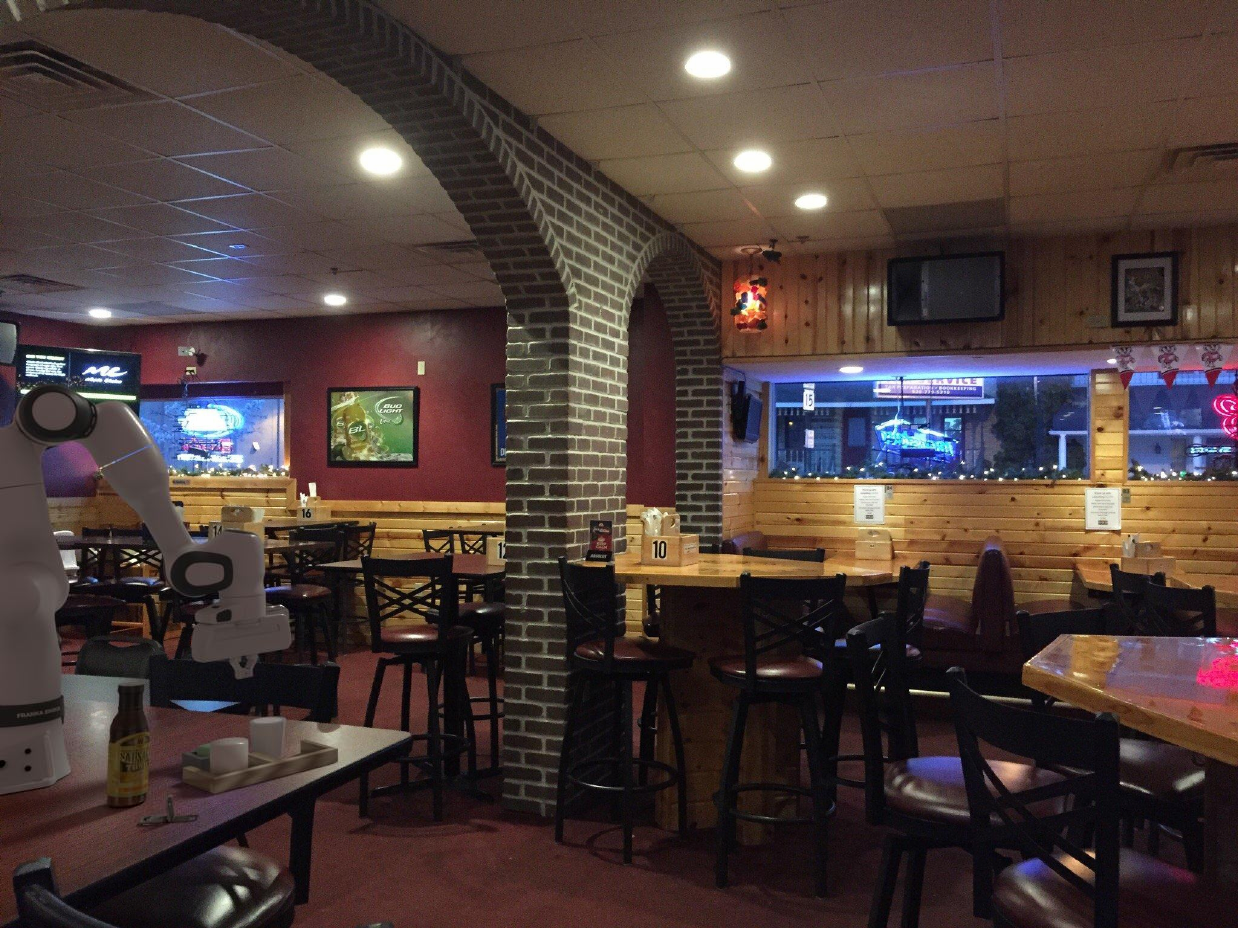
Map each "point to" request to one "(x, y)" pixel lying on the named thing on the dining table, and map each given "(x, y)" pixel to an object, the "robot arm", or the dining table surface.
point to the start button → (203, 750)
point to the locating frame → (262, 768)
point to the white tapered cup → (268, 735)
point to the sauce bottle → (128, 749)
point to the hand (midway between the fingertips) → (243, 677)
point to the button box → (195, 761)
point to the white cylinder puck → (228, 755)
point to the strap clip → (170, 815)
